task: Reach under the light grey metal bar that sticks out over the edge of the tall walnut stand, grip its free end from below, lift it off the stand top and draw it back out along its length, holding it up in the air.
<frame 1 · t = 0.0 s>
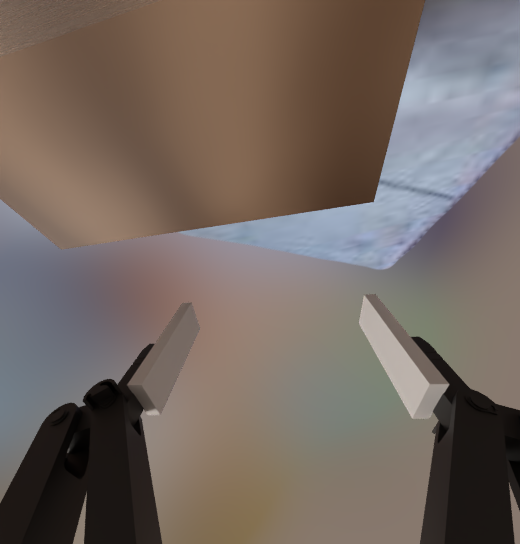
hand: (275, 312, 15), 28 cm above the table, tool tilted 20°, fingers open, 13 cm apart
walnut stand: (227, 36, 23), on the table
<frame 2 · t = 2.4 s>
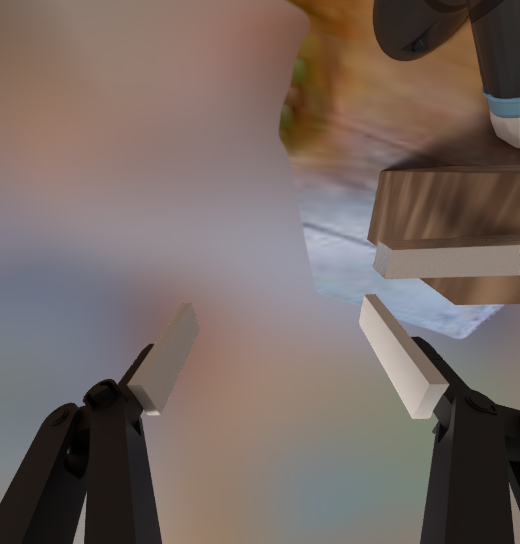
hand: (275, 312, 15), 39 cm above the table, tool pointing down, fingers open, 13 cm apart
walnut stand: (408, 205, 46), on the table
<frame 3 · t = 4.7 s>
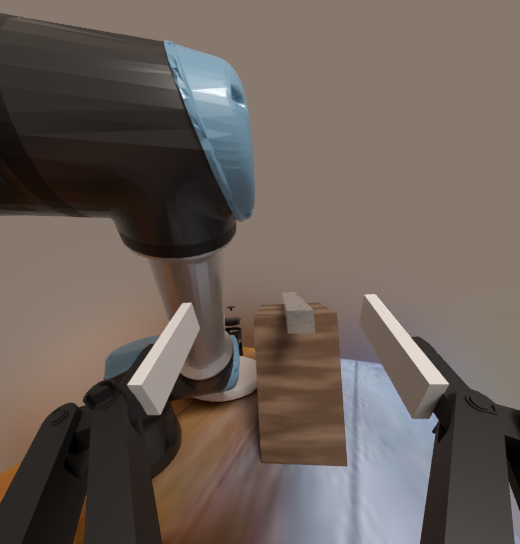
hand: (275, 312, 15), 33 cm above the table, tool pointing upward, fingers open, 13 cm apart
walnut stand: (299, 430, 44), on the table
french press: (232, 355, 91), on the table
plate: (224, 383, 67), on the table
metal bar: (292, 311, 41), point 28 cm above the table, touching walnut stand
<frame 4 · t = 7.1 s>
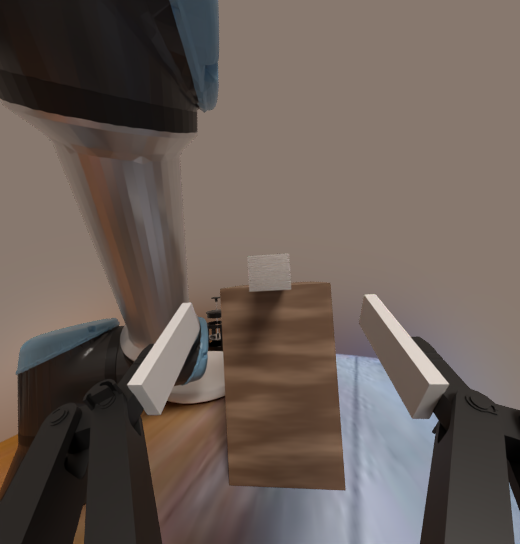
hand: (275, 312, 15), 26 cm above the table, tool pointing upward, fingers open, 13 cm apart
walnut stand: (284, 439, 35), on the table
french press: (217, 352, 81), on the table
plate: (202, 382, 57), on the table
metal bar: (274, 285, 32), point 28 cm above the table, touching walnut stand
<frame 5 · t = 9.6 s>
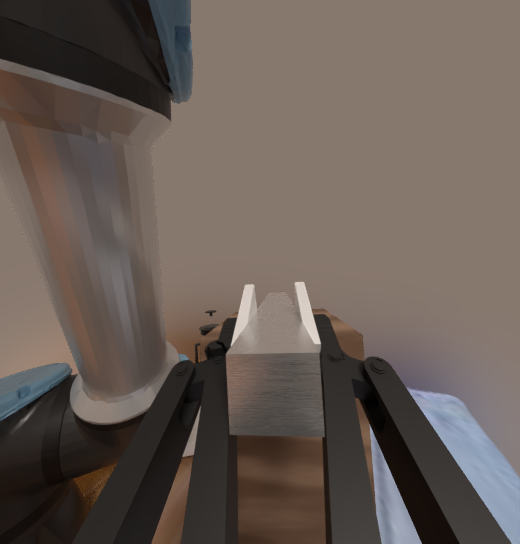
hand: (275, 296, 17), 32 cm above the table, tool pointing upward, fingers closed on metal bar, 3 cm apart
walnut stand: (290, 529, 26), on the table
french press: (212, 372, 72), on the table
metal bar: (278, 327, 23), point 28 cm above the table, touching gripper, walnut stand
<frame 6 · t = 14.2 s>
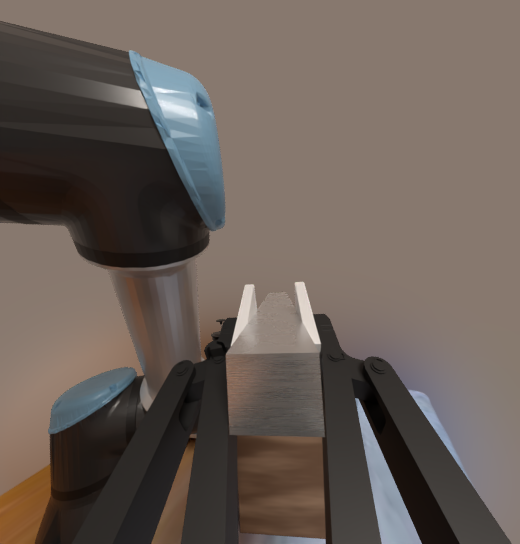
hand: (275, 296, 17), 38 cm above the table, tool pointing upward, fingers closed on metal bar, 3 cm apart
walnut stand: (288, 481, 38), on the table
metal bar: (278, 327, 23), point 34 cm above the table, touching gripper
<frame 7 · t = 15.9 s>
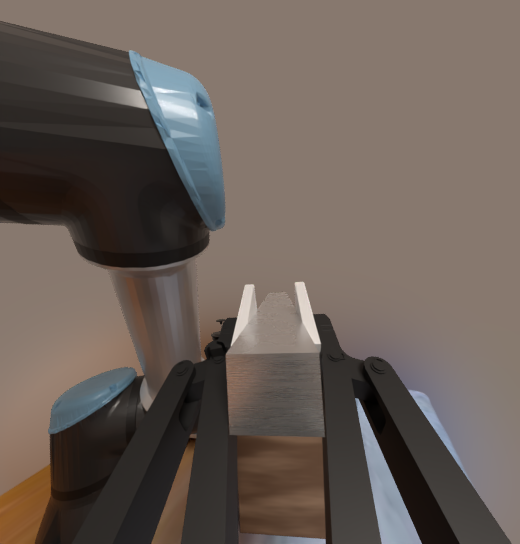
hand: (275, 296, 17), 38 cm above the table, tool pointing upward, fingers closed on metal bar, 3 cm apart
walnut stand: (288, 481, 38), on the table
metal bar: (278, 327, 23), point 34 cm above the table, touching gripper
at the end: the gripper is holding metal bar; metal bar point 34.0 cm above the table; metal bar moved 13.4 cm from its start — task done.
